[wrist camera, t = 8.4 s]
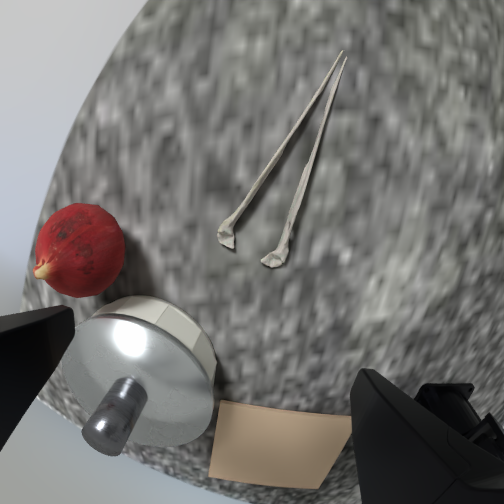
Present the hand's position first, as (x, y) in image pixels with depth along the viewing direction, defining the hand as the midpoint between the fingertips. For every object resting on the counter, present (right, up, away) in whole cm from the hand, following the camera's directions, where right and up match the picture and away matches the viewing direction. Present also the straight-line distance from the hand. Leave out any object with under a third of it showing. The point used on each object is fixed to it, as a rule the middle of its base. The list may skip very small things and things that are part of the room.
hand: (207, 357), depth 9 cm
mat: (+4, -16, +17) cm, 24 cm away
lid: (-7, -6, +11) cm, 14 cm away
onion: (-9, +4, +13) cm, 16 cm away
